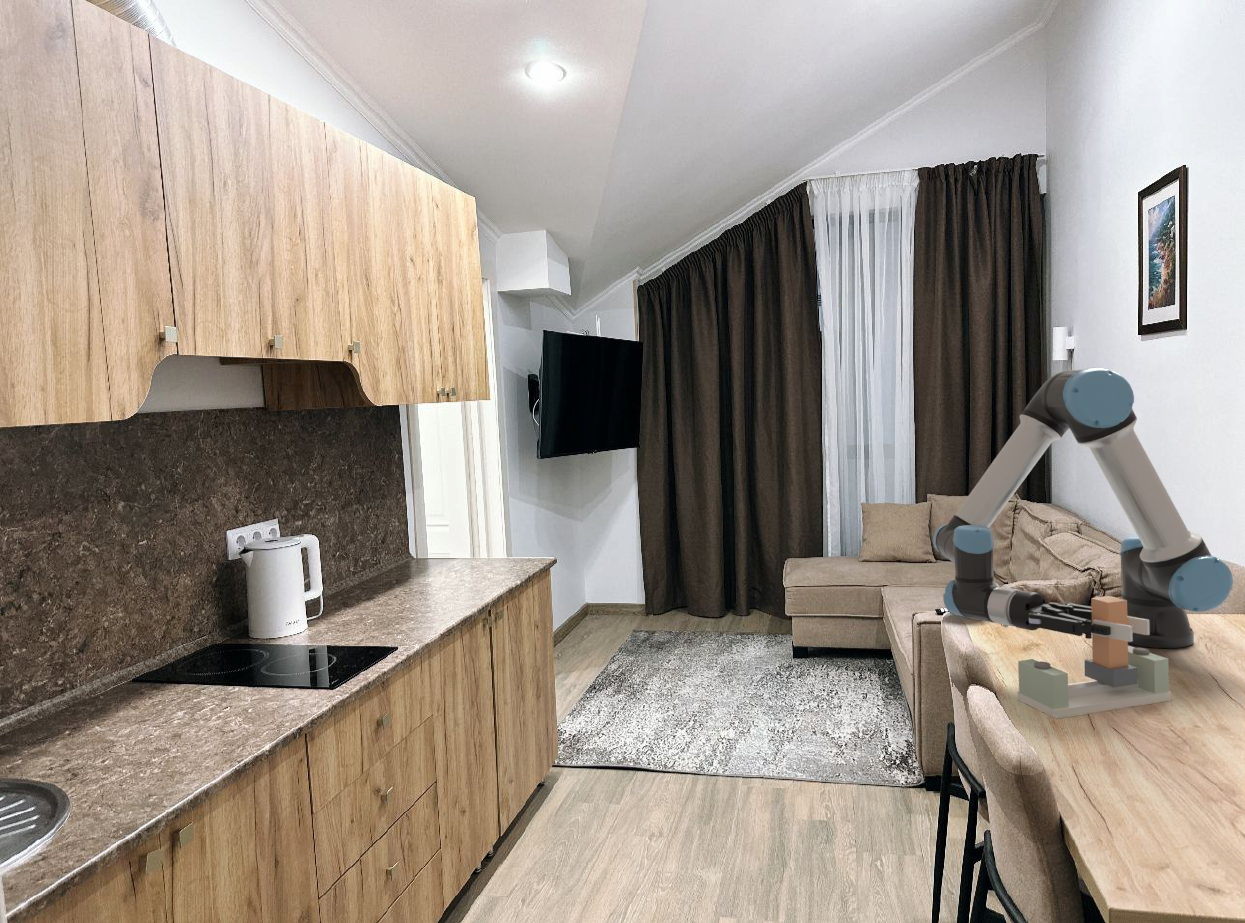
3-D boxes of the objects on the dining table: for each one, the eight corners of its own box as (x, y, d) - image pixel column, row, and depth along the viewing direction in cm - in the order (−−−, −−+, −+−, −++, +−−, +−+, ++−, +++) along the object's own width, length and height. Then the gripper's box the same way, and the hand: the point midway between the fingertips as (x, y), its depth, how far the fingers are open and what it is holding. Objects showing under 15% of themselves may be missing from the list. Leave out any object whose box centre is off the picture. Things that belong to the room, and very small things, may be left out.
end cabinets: (1129, 676, 162) (1128, 642, 162) (1168, 691, 153) (1168, 655, 153) (1019, 692, 157) (1018, 657, 156) (1053, 709, 148) (1052, 672, 148)
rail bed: (1127, 683, 163) (1126, 668, 162) (1171, 700, 153) (1171, 684, 153) (1017, 699, 158) (1017, 684, 157) (1056, 718, 148) (1055, 701, 148)
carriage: (1107, 672, 160) (1105, 593, 159) (1137, 684, 153) (1136, 601, 152) (1084, 675, 159) (1082, 596, 158) (1114, 687, 152) (1112, 604, 151)
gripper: (1044, 618, 175) (1166, 641, 156) (991, 636, 166) (1113, 662, 146) (1043, 582, 175) (1165, 600, 155) (989, 598, 165) (1112, 619, 146)
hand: (1139, 630), depth 151 cm, fingers closed on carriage, 5 cm apart
